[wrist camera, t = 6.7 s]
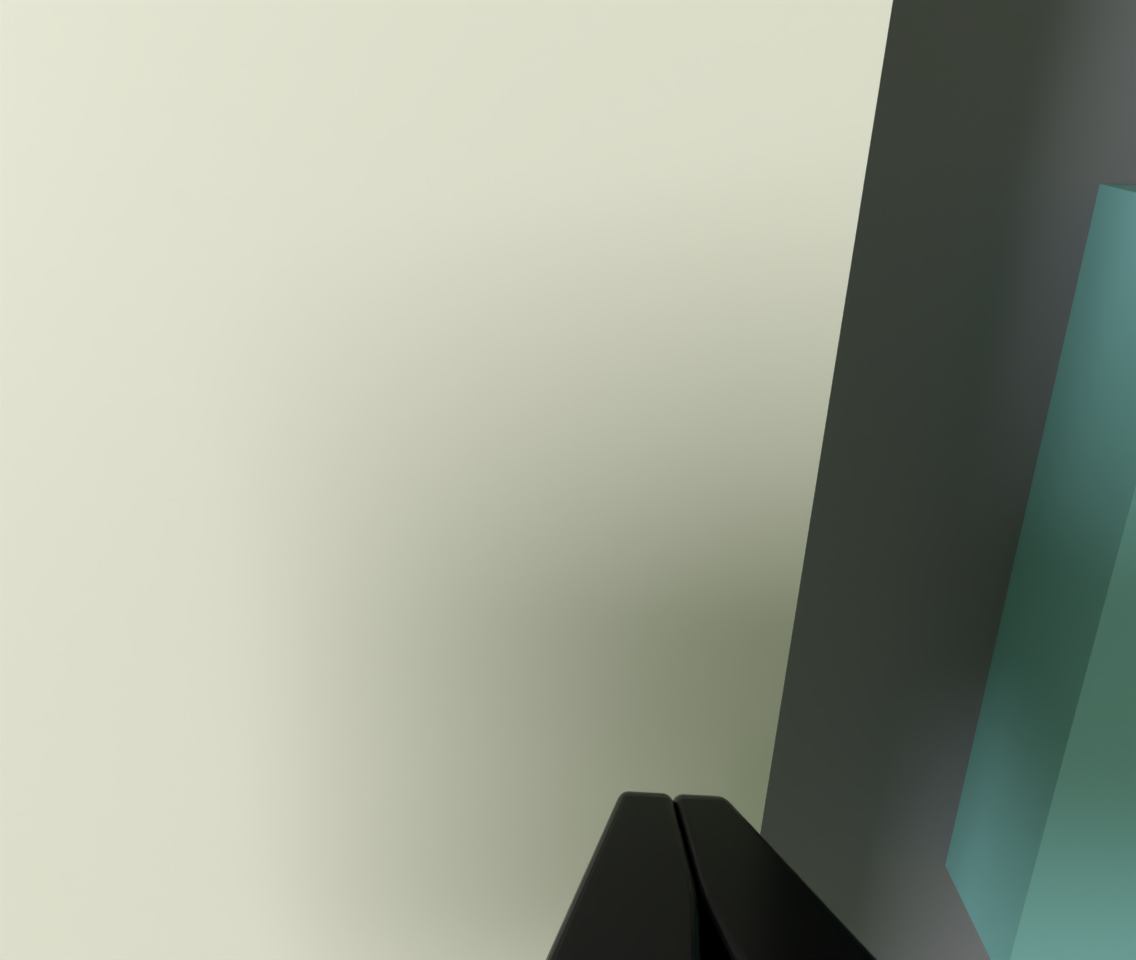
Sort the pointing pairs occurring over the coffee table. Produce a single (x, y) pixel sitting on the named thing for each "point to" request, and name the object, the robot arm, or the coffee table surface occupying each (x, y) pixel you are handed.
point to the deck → (400, 449)
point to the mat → (938, 439)
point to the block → (1067, 654)
